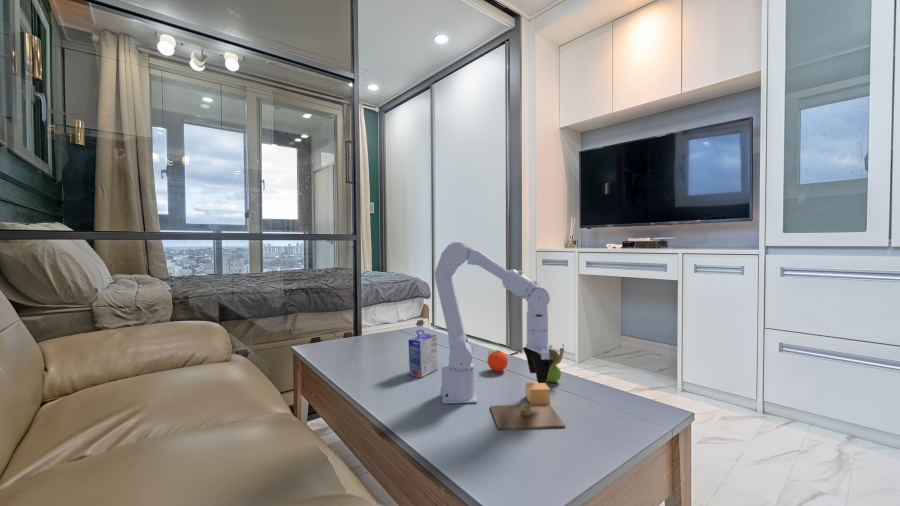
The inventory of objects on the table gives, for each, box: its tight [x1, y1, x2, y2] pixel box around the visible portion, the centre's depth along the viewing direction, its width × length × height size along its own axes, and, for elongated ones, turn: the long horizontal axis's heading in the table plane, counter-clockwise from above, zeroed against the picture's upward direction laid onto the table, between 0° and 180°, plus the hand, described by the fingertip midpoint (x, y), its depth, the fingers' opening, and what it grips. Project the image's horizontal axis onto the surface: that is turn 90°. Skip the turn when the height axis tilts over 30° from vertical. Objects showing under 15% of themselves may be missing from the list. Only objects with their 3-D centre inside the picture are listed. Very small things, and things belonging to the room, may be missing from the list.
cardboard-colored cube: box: [524, 381, 551, 405], centre depth 105 cm, size 5×5×4 cm
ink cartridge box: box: [407, 328, 439, 378], centre depth 128 cm, size 10×6×14 cm, turn 148°
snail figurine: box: [546, 343, 565, 383], centre depth 118 cm, size 5×6×12 cm
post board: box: [489, 402, 566, 431], centre depth 95 cm, size 16×12×3 cm
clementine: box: [487, 349, 509, 372], centre depth 130 cm, size 8×7×7 cm
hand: (537, 377), depth 105 cm, fingers open, 7 cm apart
